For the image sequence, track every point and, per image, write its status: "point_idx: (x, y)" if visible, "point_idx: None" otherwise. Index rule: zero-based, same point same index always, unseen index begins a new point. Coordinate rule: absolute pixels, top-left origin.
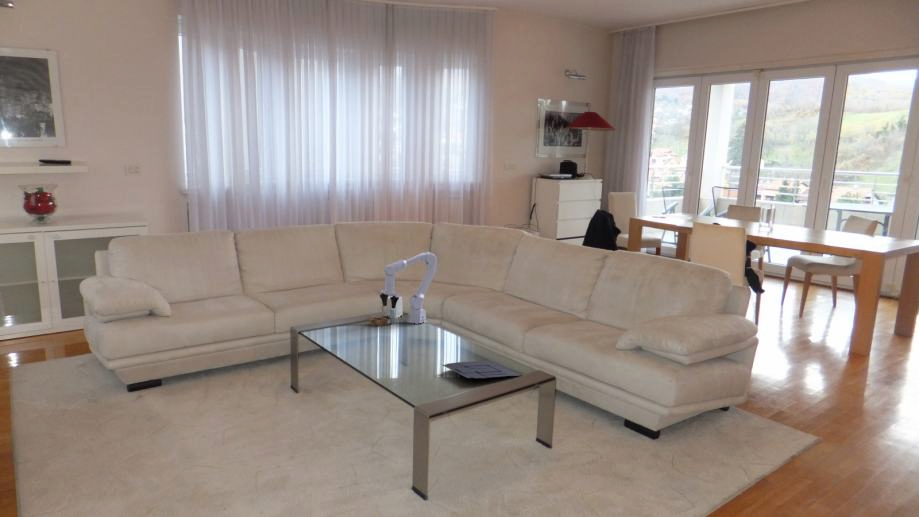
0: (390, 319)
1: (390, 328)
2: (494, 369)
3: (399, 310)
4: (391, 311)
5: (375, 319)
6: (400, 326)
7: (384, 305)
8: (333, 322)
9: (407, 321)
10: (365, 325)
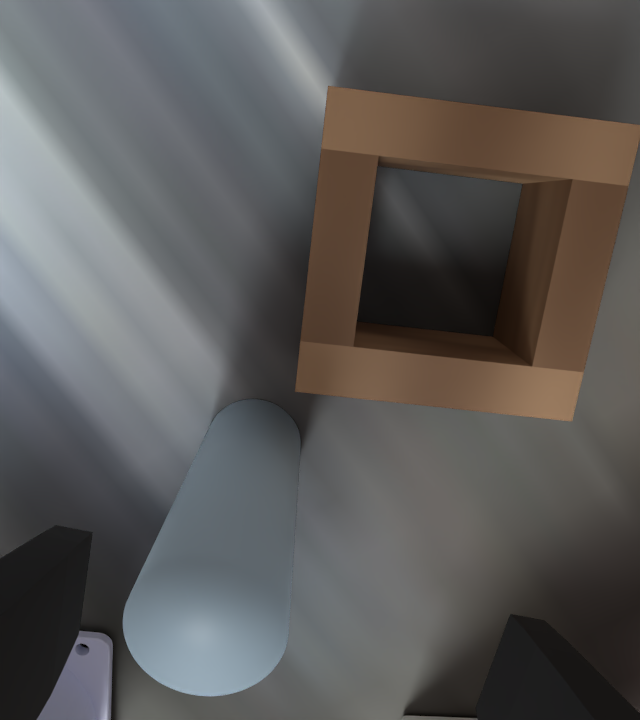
0: (256, 433)
1: (62, 136)
2: None
3: None
4: (196, 524)
5: (477, 157)
6: (16, 364)
7: (514, 654)
8: None
9: (94, 641)
10: (620, 44)
